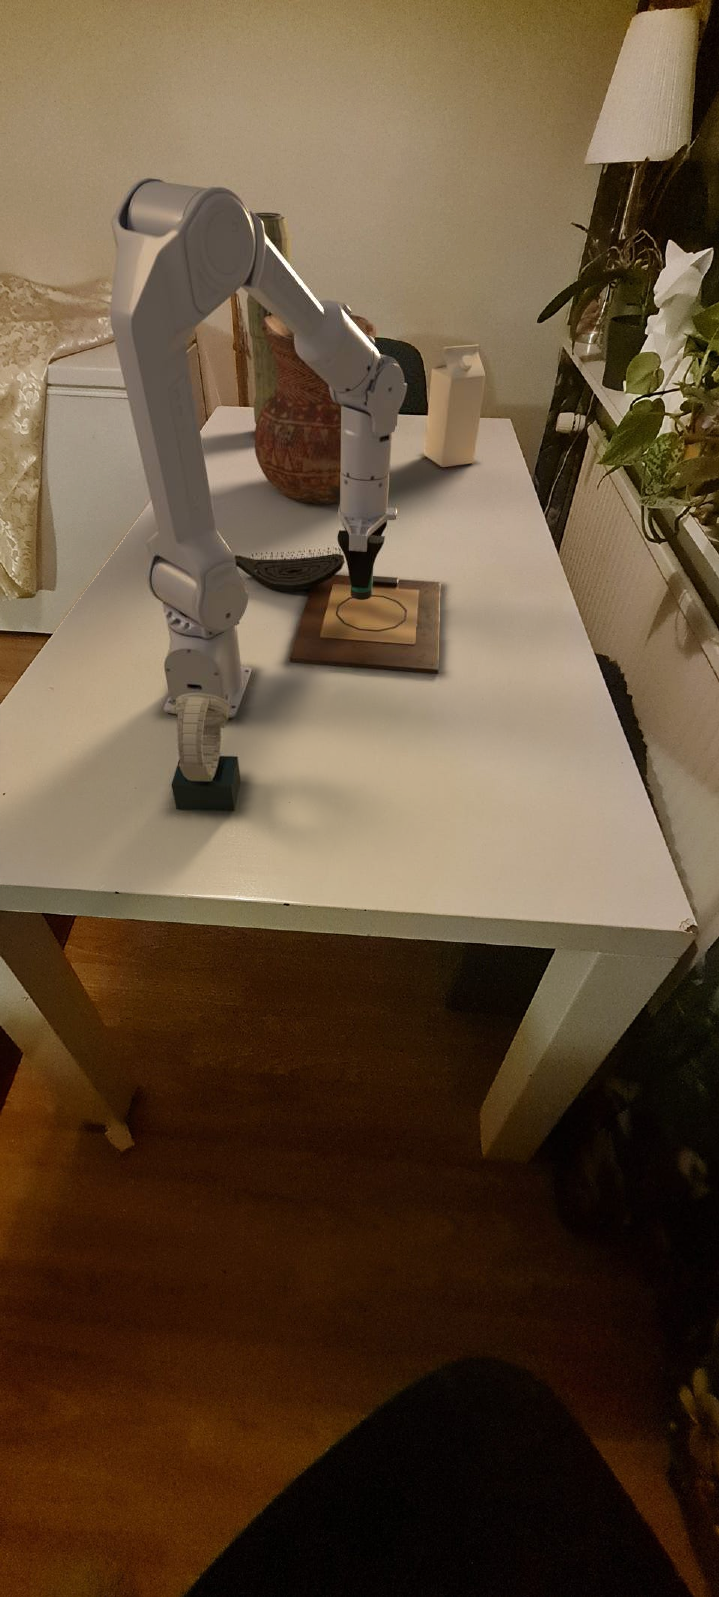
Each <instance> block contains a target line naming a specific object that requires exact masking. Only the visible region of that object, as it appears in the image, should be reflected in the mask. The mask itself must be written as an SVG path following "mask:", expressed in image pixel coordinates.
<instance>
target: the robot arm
mask: <svg viewBox="0 0 719 1597" xmlns="http://www.w3.org/2000/svg"><path fill="white" fill-rule="evenodd" d="M254 213H255V212H253V211H251V210H249V209H248V207H247V206H246V204H245V203H244V202H243V200H242V198H241V197H239V196H238V194H236V193H235V192H233V191H232V190H231V189H229V188H226V187H222V186H210V187H202V186H196V185H187V184H182V183H181V184H180V183H173V182H166V181H163V180H162V179H159V178H153V177H145V178H142V179H140V180H138V181H136V182H135V183H134V184H133V185H132V186H130V188H129V190H128V191H127V192H126V194H125V196H124V197H123V199H122V201H121V202H120V204H119V205H118V207H117V209H116V210H115V212H114V214H113V215H112V217H111V218H110V225H111V229H112V234H113V240H114V243H115V248H116V256H115V264H114V272H113V281H112V289H111V297H110V304H109V318H110V326H111V330H112V335H113V340H114V344H115V348H116V353H117V357H118V362H119V365H120V370H121V375H122V378H123V383H124V388H125V391H126V396H127V401H128V404H129V405H128V406H129V410H130V414H131V418H132V422H133V426H134V431H135V436H136V440H137V444H138V449H139V453H140V457H141V462H142V467H143V470H144V474H145V478H146V484H147V487H148V492H149V496H150V501H151V506H152V510H153V514H154V518H155V523H156V527H157V531H156V532H155V533H154V534H153V535H152V536H151V537H150V538H149V539H148V540H147V541H146V548H147V553H148V565H147V570H146V583H147V588H148V589H149V592H150V593H151V594H152V596H153V597H154V598H156V599H157V600H158V601H160V602H162V608H163V613H164V614H165V617H166V618H165V619H166V624H167V629H168V636H169V646H168V647H169V648H168V651H167V654H166V656H165V659H164V664H163V668H164V674H165V679H166V685H167V690H168V695H169V696H168V698H167V699H166V702H165V704H164V706H163V711H164V713H167V714H168V713H169V714H172V713H171V706H172V705H176V699H177V697H179V696H180V695H183V694H187V693H205V694H211V695H215V696H218V697H220V698H223V699H224V700H226V701H227V702H228V703H229V704H230V711H229V717H228V719H233V718H235V717H236V716H237V714H238V711H239V708H240V706H241V703H242V700H243V697H244V694H245V692H246V688H247V687H248V682H249V681H250V677H251V675H252V672H253V669H252V667H251V666H246V665H245V666H243V665H242V664H241V655H240V644H239V635H238V634H239V633H238V625H240V621H241V619H242V618H243V617H244V614H245V613H246V609H247V607H248V603H249V588H248V585H247V582H246V580H244V578H243V577H242V576H241V574H240V572H239V570H238V567H237V566H236V560H235V556H234V555H235V554H234V553H233V551H232V550H231V548H230V547H229V546H228V544H227V543H226V541H225V540H224V539H223V537H222V536H221V534H220V533H219V531H218V529H217V526H216V518H215V514H214V507H213V501H212V495H211V489H210V484H209V477H208V471H207V465H206V464H207V463H206V459H205V453H204V447H203V442H202V436H201V430H200V429H201V428H200V423H199V417H198V411H197V404H196V400H195V392H194V387H193V381H192V374H191V369H190V362H189V357H188V350H187V342H188V340H189V338H190V337H191V336H192V334H193V333H194V331H195V330H196V327H197V326H199V325H200V324H201V323H202V322H203V321H204V320H205V319H206V318H208V317H209V316H210V315H211V314H212V313H214V311H216V310H217V309H218V308H219V307H220V306H221V305H223V304H224V303H225V302H226V301H227V300H229V299H230V298H231V297H232V296H234V294H235V293H237V291H239V289H241V288H242V290H244V291H245V292H246V293H247V294H248V293H249V294H250V295H251V296H252V297H253V298H254V299H256V300H257V301H258V302H259V303H260V304H261V305H262V306H263V307H265V308H266V309H267V310H268V311H269V312H270V313H271V314H273V315H274V316H275V317H276V318H277V319H278V320H279V321H281V322H282V323H283V324H284V325H285V326H286V327H287V328H289V329H290V330H291V331H292V332H293V333H294V345H295V350H296V352H297V354H298V356H299V357H300V358H301V359H302V360H303V361H304V362H305V363H306V364H307V365H308V366H309V367H310V368H311V369H312V370H314V371H315V372H316V373H317V374H318V375H319V376H320V377H321V378H322V379H323V380H324V381H325V382H326V383H327V384H328V385H329V391H330V395H331V398H332V400H333V401H334V402H335V403H338V404H340V405H342V406H341V472H340V502H339V506H338V510H337V512H338V513H337V514H338V518H339V520H340V522H341V524H342V526H343V528H344V530H343V529H339V530H338V532H337V543H338V546H339V548H340V550H341V552H342V554H343V555H344V559H345V562H346V565H347V571H348V576H349V577H350V582H351V585H352V587H353V588H366V589H367V588H368V586H369V583H370V580H371V575H372V570H373V571H374V567H375V566H374V565H375V563H376V562H375V561H376V559H377V556H378V554H379V552H380V551H381V550H382V547H383V545H384V543H385V539H386V536H385V535H383V533H384V531H385V529H386V528H387V525H388V521H395V520H397V517H398V509H397V508H393V507H388V505H389V488H390V487H389V486H390V472H391V454H392V440H393V433H395V431H396V427H397V426H398V416H399V412H400V409H401V407H402V405H403V402H404V401H405V397H406V394H407V389H408V383H407V382H405V375H404V372H403V369H402V368H401V366H400V364H399V362H398V361H397V360H396V359H395V358H394V357H392V356H389V355H386V354H382V353H380V352H379V350H378V349H377V347H376V346H375V345H376V341H375V338H374V339H373V338H372V337H371V336H369V335H365V334H363V332H362V331H361V330H360V329H359V328H358V327H357V326H356V324H355V323H354V322H353V321H352V320H351V319H350V318H349V317H350V315H352V309H351V308H350V306H348V305H347V304H346V303H345V302H341V301H337V300H331V299H322V300H319V301H318V299H316V297H315V296H314V294H313V293H312V292H311V291H310V289H309V288H308V287H307V286H306V284H305V283H304V282H303V280H302V278H300V277H299V275H298V274H297V273H296V272H295V270H294V269H293V267H292V266H291V267H290V265H289V264H288V263H287V261H286V260H285V259H284V258H283V256H282V255H281V254H280V253H279V251H278V250H277V249H276V247H275V246H274V245H273V244H272V242H271V241H270V240H269V239H268V237H267V236H266V234H265V231H264V225H263V222H262V220H261V219H260V218H259V217H258V216H256V215H255V214H254Z"/></svg>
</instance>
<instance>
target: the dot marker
mask: <svg viewBox="0 0 719 1597" xmlns="http://www.w3.org/2000/svg"><path fill="white" fill-rule="evenodd" d="M373 576H374V569H373V570H372V575H371V580H370V583H369V586H368V588H367V589H366V588H353V587H352V585H351V596H352V597H353V598H355V599H358V600H366V599H369V598H370V597H371V596H372V583H373Z"/></svg>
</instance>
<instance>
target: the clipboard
mask: <svg viewBox="0 0 719 1597" xmlns="http://www.w3.org/2000/svg"><path fill="white" fill-rule="evenodd" d="M305 601H306V602H305V604H304V608H303V611H302V613H301V614H302V615H301V618H300V620H299V624H298V628H297V632H296V634H295V637H294V640H293V645H292V648H291V651H290V655H289V658H288V660H289V662H290V663H299V664H311V665H312V664H314V665H325V666H337V667H350V668H363V669H377V670H388V671H399V672H400V671H401V672H414V673H416V672H417V673H425V674H439V660H440V658H439V657H440V656H439V655H440V625H441V624H440V622H441V621H440V620H441V619H440V618H441V617H440V616H441V582H440V581H426V580H416V579H415V580H413V579H410V580H409V579H399V577H393V576H379V575H373V583H372V596H371V597H370V598H369V599H366V600H358V599H355V598H353V597H352V596H351V582H350V577H349V575H346V574H345V575H344V574H335V575H334V576H333V577H331V578H330V579H328V580H326V581H324V582H322V583H320V584H318V585H315V586H313V587H311V588H309V592H308V594H307V598H306V600H305Z"/></svg>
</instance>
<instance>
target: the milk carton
mask: <svg viewBox="0 0 719 1597" xmlns="http://www.w3.org/2000/svg"><path fill="white" fill-rule="evenodd" d="M479 347H480V345H479V344H472V345H457V346H446V347H445V346H444V347H443V352H442V356H440V358H439V359H438V360H437V362H436V363H435V364H434V365H433V367H432V368H431V376H430V387H429V398H428V407H427V408H428V410H427V418H426V429H425V430H426V432H425V442H424V451H423V452H424V453H423V454H424V456H425V457H427V458H428V459H429V460H431V461H432V462H433V463H435V464H437V465H438V466H439V467H442V468H446V467H454V466H461V465H468V464H474V462H475V456H476V448H477V441H478V436H479V435H478V434H479V427H480V419H481V412H482V405H483V404H482V403H483V398H484V390H485V384H486V372H485V370H484V369H485V368H484V365H483V363H482V359H481V356H480V353H479Z"/></svg>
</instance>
